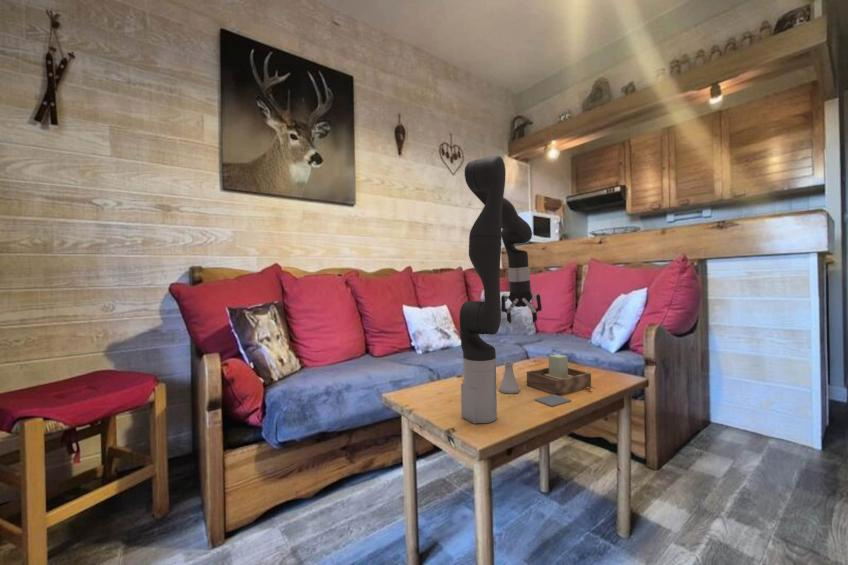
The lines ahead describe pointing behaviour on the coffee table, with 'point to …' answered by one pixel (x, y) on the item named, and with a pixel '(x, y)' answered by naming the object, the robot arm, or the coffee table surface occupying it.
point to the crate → (558, 381)
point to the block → (558, 365)
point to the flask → (509, 380)
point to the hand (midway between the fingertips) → (522, 322)
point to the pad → (552, 400)
